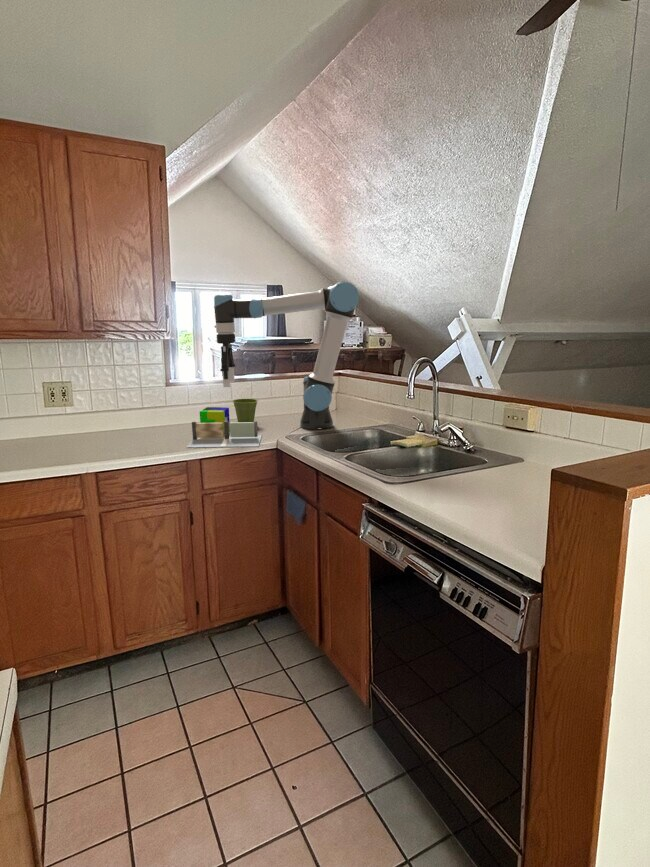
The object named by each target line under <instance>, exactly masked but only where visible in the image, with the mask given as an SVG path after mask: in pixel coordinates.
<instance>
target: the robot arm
mask: <svg viewBox="0 0 650 867" xmlns="http://www.w3.org/2000/svg"><path fill="white" fill-rule="evenodd" d="M359 301H360V292H359V290H358V289H357V287H356V286H355V284H353V283H352V282H349V281H345V280H344V281H338V282H337V283H335V284H333V285H331V286H327V287H322V288H320V290H316V291H309V292H300V293H293V294H286V295H278V296H277V295H276V296H269V297H261V298H252V299H251V298H248V299H246V298H244V299H234V298H233V295H232V294H216V295H215V296H214V297H213V302H214V305H213V308H214V319H215V325H214V326H213V327H214V328H216V329H215V331H216V333H217V334H216V343H217V344H222V346H220V349H221V350H220V351H221V356H220V357H221V361H220V363H221V366H220V367H221V368H220V372H222V385H223V388H231V383H236V382H235V369H234V368H235V367H236V364H235V361H234V355H233V354H234V353H233V345H232V344H235V343H236V334H235V332H236V328H235V327H236V326H235V325H236V324H235V319H260V318H262V317H267V316H274V315H282V314H290V313H299V312H308V311H314V310H323V311H324V312H325V314H326V321H325V326H324V329H323V333H322V337H321V340H320V344H319V347H318V351H317V357H316V359H315V363H314V367H313V371H312V373H311V374H309V375H308V376H304V377H303V382H302V384H303V396H302V398H303V411H302V415H301V418H300V421H299V422H300V423H299V427H301V428H302V429H308V430H319V429H318V428H327V429H330V428H329V427H331V428H332V427H333V426H334V421H333V417H332V413H331V411H330V405H331V403H332V398H333V396H332V395H333V392H334V387H335V383H336V382H335V380H334V374H335V370H336V366H337V362H338V358H339V356H340V351H341V349H342V345H343V340H344V337H345V333H346V329H347V325H348V323H349V322H350V321H351V320H353V319H354V318H353V317H354V314H355V309H356V308H357V305H358V304H359Z"/></svg>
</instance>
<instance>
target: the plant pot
mask: <svg viewBox="0 0 650 867" xmlns="http://www.w3.org/2000/svg"><path fill="white" fill-rule="evenodd" d="M231 402H232V403H233V406H234V408H235V409H234V410H235V414H236V420H237V422H254V421H255V415H256V409H257V405H258V402H259V400H258V399H255V398H237V399H236V398H235V399H232V401H231Z"/></svg>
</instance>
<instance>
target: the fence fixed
mask: <svg viewBox="0 0 650 867" xmlns="http://www.w3.org/2000/svg"><path fill="white" fill-rule="evenodd" d="M191 429H192V430H191V431H192V432H191V433H192V440H193V439H194V440H196V439H197V438H214V437H224V435H225V439H229V435H230V429H229V422H228V421H225V422H224V430H225V434H223V423H200V422H197V421H191Z"/></svg>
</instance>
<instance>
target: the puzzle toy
mask: <svg viewBox="0 0 650 867" xmlns="http://www.w3.org/2000/svg"><path fill="white" fill-rule="evenodd" d="M225 421H228V422H229V430H230V423H231V421H230V407H225V406H224V407H222V406H221V407H217V406H216V407H215V406H214V407H213V406H207V407H205V408H203V409H202V410H200V411H199V423H223V434H224V435H225V430H224V422H225Z"/></svg>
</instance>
